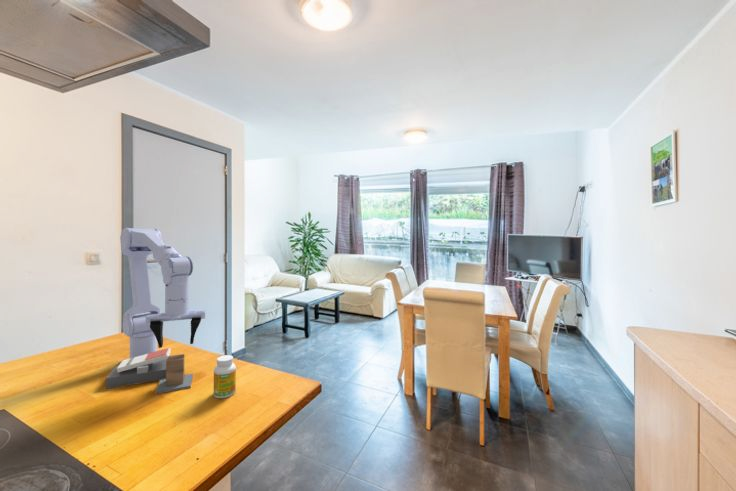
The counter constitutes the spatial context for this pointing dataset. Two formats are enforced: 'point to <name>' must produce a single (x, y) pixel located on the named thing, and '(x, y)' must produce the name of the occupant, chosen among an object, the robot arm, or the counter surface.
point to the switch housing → (137, 374)
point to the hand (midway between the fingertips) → (176, 344)
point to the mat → (163, 388)
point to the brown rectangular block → (175, 370)
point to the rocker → (144, 359)
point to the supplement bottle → (224, 377)
